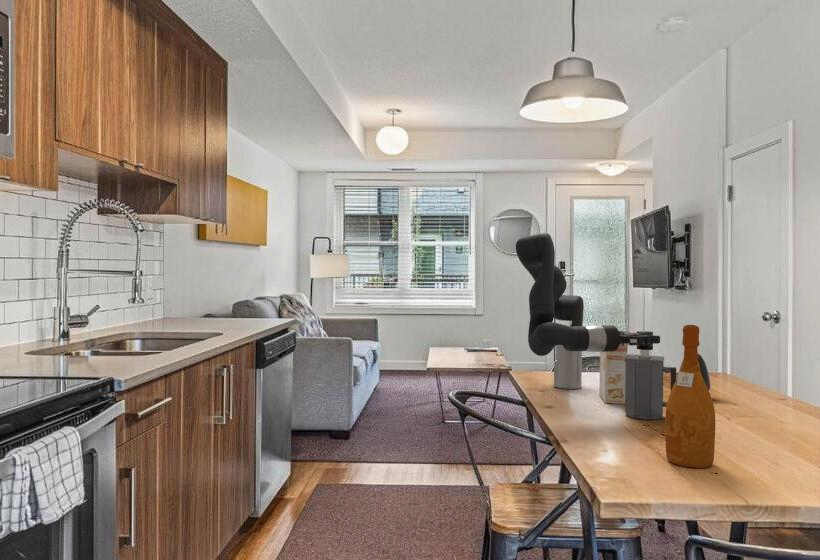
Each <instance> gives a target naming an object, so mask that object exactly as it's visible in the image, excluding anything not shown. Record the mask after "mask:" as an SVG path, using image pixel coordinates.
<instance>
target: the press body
mask: <svg viewBox="0 0 820 560" xmlns="http://www.w3.org/2000/svg"><path fill="white" fill-rule="evenodd" d="M625 362H626V374H625V404H624V413H625V416H626V417H628V418H631V419H634V420H635V419H636V420H640V421H641V420H642V421H660V420H663V418H664V408H666V405H667V401H665V400H664V373H665V372H667V373H670V391H671V390H672V388H673V386H674V384H675V382H676V380H677V367H675V366H664V364H665V363H664V362H665V356H663V355H661V356H660V355H649V358H640V354H629V353H627V356H626V357H625Z"/></svg>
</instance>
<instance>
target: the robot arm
mask: <svg viewBox="0 0 820 560" xmlns="http://www.w3.org/2000/svg"><path fill="white" fill-rule="evenodd" d="M515 250H516V251H515V252H516V255H517V258H518V260H519V262H520V264H521V265H522V267H523V268H525V269H526V270H527V272H528V273H529V274H530V276H531V277H532V278H533V280H534V283H533V284H532V287H531V288H530V291H529V294H528V295H529V296H528V307H529V308H528V309H529V315H530V316H529V323H528V334H527V339H528V341H527V343H528V346H529V349H530V351H531V352H532V353H534V354H535V355H536V356H539V357H543V356H547V355H550V354H551V352H552V351H553V349H554V348H555V359H554V361H553V367H554V368H553V387H554V388H560V389H564V390H565V389H566V390H567V389H568V390H578V389H581V388H582V387H583V386H582V383H583V382H582V379H583V378H582V376H583V375H582V373H583V370H582V369H583V368H582V367H583V365H582V364H583V359H582V358H583V357H582V356H583V352H589V353H590V352H591V353H600V352H614V351H616V350H617V349H618V347H619V345H622V346H627V347H628V346H630V347H631V346H636V347H637V346H638V345H647V346H648V345H650V344H653V345H655V344H660V343H661V336H660V335H653V336H648V335H640V334H639V333H637V332H630V331H628V330H627V331H626V330H619V329H618V327H617V326H615V325H613V324H612V325H611V324H608V325H607V324H606V325H604V324H601V325H600V324H597V325H596V324H595V325H583V323H584V322H583V321H584V311H585V310H584V309H585V308H584V306H585V305H584V304H585V303H584V300H583V297H582V296H580V295H573V294H572V295H571V294H570V295H563V294H565V292H566V290H567V285H568V284H567V283H568V282H567V279H566V277H565V275H564V274H563V272H562V270H561V269H560V268H559V267H558V266H556V265H555V259H556V252H555V251H556V249H555V245H554V241H553V238H552V236H551V235H550V233H548V232H539V233H536V234H535V233H534V234H531V235H526V236H523V237H521V238H519V239H517V241H516V243H515ZM554 319H555V320H558V321H565V322H568V321H569V322H571V324H570V326H569V325H566V324H562V323H558V322H553V321H554ZM643 338H644V342H642V339H643Z"/></svg>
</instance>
